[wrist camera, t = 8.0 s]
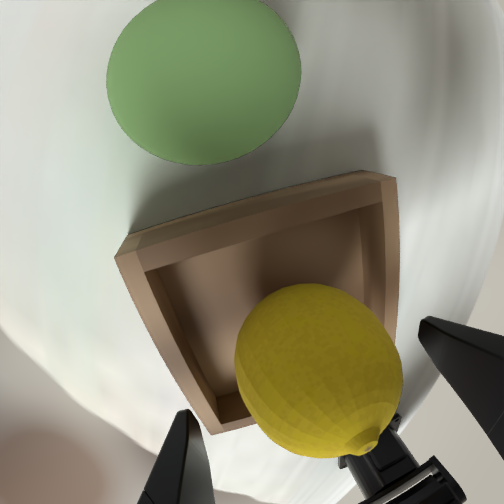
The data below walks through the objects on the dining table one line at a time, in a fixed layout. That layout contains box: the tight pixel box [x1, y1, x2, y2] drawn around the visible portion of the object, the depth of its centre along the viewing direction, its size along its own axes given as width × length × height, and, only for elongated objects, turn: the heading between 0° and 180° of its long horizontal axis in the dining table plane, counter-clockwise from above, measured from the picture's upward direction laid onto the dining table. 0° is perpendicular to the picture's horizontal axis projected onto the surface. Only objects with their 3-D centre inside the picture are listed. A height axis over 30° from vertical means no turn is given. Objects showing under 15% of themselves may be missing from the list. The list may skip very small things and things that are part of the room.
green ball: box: [106, 0, 301, 165], centre depth 7 cm, size 6×6×6 cm
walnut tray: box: [114, 170, 400, 435], centre depth 13 cm, size 11×11×2 cm
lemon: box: [234, 283, 403, 458], centre depth 10 cm, size 6×6×8 cm
